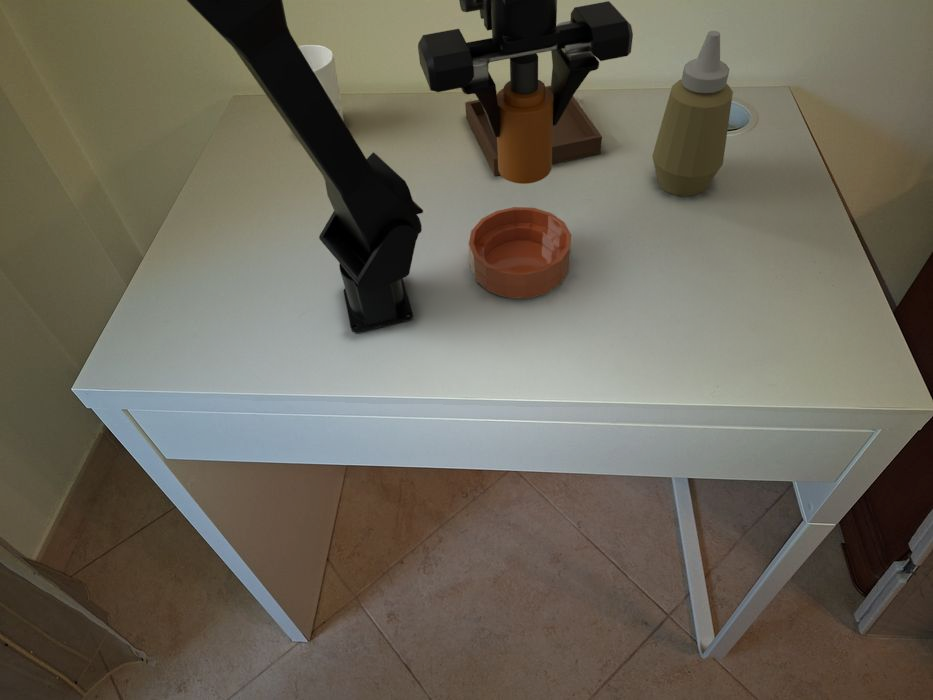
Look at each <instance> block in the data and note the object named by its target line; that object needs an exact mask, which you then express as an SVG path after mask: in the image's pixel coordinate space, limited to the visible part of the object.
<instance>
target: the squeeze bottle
mask: <svg viewBox="0 0 933 700" xmlns="http://www.w3.org/2000/svg"><path fill="white" fill-rule="evenodd" d="M729 73H730V67H729V65H727V63H725V62H724V61H722V60H721V32H720V31H718V30H709V31H708V32H707V34H706V36H705V39H704V41H703V43H702V46H701V49H700V50H699V52H698V54H697V58H694V59H691V60H688V61H687V62H686V63H685V64H684V66H683V69H682V75H681V79H678V80H677V81H676V82H675V83H674V84H673V85H671V88H670V92H669V96H668V99H667V102H666V106H665V110H664V113H663V115H662V116H663V117H662V120H661V124H660V127H659V131H658V134H657V137H656V141H655V144H654V148H653V152H652V161H653V165H654V170H655V175H656V179H657V183H658V185H659V187H661V188H662V189H663V190H664V191H665V192H668V193H670V194H672V195H676V196H682V197H688V196H695V195H699V194H700V193H703V192H704V191H705V190H706V189H707V188H708V186H709V185H710V183H712V180H713V179H714V178H715V176H716V175H717V174H718V172H719V171H720V169H721V168H722V166H723V165H724V160H725V159H724V158H725V151H726V144H727V137H728V130H729V123H730V116H731V108H732V103H733V94H734V91H733V90H732V88H731V86H730V85H729V84H728V83H727V82H728V78H729V75H730V74H729Z"/></svg>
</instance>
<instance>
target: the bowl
mask: <svg viewBox="0 0 933 700" xmlns="http://www.w3.org/2000/svg"><path fill="white" fill-rule="evenodd" d="M571 244H572V233H571V232H570V230H569V228H568V226H567V225H566V223H565V221H564V220H562V219H561V218H559V217H558V216H556V214H554V213H552V212H549V211H546V210H543V209H540V208H536V207H530V206H529V207H528V206H527V207H526V206H525V207H524V206H512V207H508V208H504V209H499V210H495V211H493V212H491V213H490V214H488V215H486V216H484V217H482V218H480V219H479V221H478V222H477V223H476V224H475V225H474V227H473V228H472V229H471V231H470V235H469V240H468V250H469V251H468V253H469V263H470V270H471V272H472V274H473V277H474V280H475V281H476V282H477V283H478V284H479V285H480V286H481V287H482V288H484V289H485V290H486V291H488V292H490V293H492V294H496V295H498V296H501V297H504V298H511V299H512V298H513V299H530V298H533V297H534V298H535V297H538V296H542V295H546V294H547V293H549V292H551V291H552V290H555V289H556V288H557V287H560V285H562V283H563V281H564V280H565V279H566V277H567V276H568V274H569V272H570V260H571V258H570V257H571Z"/></svg>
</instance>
